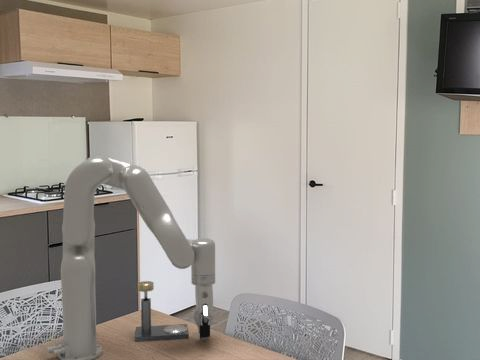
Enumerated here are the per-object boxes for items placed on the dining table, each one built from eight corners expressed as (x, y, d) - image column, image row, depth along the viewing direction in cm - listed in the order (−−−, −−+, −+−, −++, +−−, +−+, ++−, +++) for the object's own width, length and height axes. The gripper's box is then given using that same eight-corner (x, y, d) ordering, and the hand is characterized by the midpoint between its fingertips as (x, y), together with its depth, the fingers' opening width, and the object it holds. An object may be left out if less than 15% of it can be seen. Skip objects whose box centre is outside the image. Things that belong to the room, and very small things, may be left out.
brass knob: (137, 305, 170) (137, 285, 169) (138, 300, 175) (138, 281, 174) (153, 305, 171) (153, 285, 170) (153, 300, 175) (153, 280, 175)
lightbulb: (212, 345, 166) (212, 310, 165) (193, 344, 166) (192, 310, 165) (213, 337, 172) (213, 304, 171) (195, 337, 172) (194, 304, 171)
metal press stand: (134, 341, 169) (134, 304, 168) (136, 331, 178) (135, 296, 176) (188, 338, 171) (188, 302, 170) (186, 328, 180) (186, 293, 179)
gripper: (218, 285, 159) (218, 341, 161) (212, 270, 177) (212, 321, 178) (193, 286, 158) (193, 343, 160) (189, 271, 175) (190, 322, 177)
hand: (203, 331), depth 169 cm, fingers open, 8 cm apart
